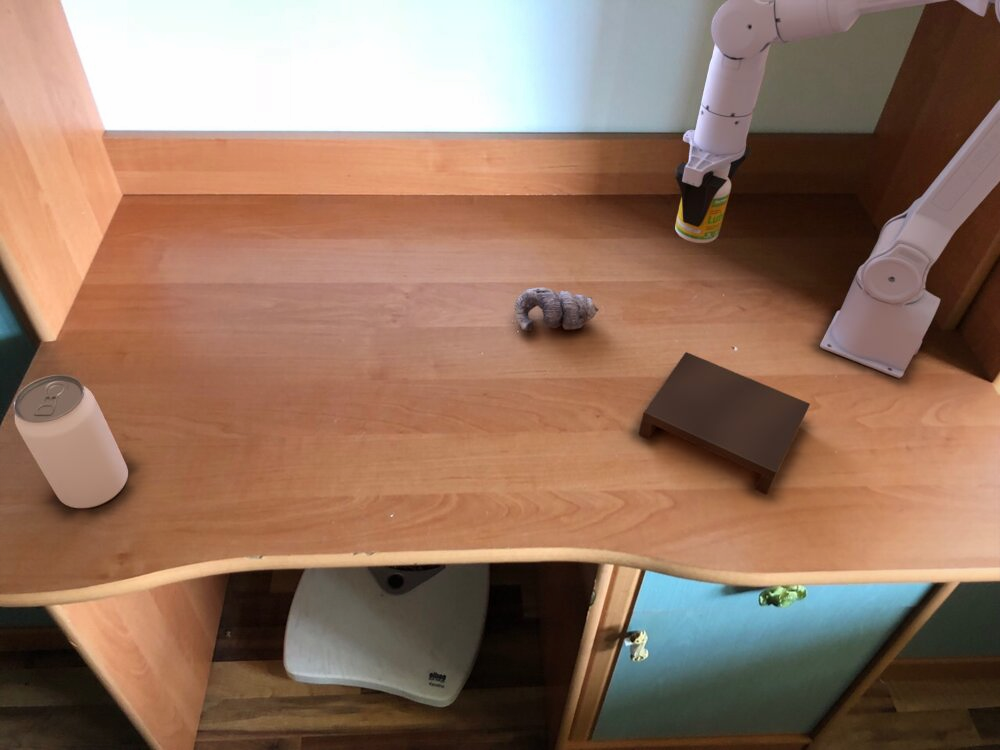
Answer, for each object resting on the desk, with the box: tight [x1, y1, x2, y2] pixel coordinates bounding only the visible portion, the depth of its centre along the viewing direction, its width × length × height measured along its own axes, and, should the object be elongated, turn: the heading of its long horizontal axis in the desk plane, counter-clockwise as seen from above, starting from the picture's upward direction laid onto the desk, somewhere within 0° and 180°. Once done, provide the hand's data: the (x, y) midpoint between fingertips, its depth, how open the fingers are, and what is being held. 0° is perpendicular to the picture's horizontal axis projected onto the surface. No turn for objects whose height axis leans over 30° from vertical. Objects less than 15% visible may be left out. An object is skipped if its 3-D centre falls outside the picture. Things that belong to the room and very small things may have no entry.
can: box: [12, 374, 129, 509], centre depth 72 cm, size 6×6×12 cm
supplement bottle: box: [674, 163, 732, 244], centre depth 95 cm, size 5×5×10 cm
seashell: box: [514, 286, 600, 331], centre depth 94 cm, size 5×5×10 cm
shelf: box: [638, 351, 811, 495], centre depth 83 cm, size 14×11×4 cm
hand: (701, 211), depth 96 cm, fingers closed on supplement bottle, 5 cm apart
